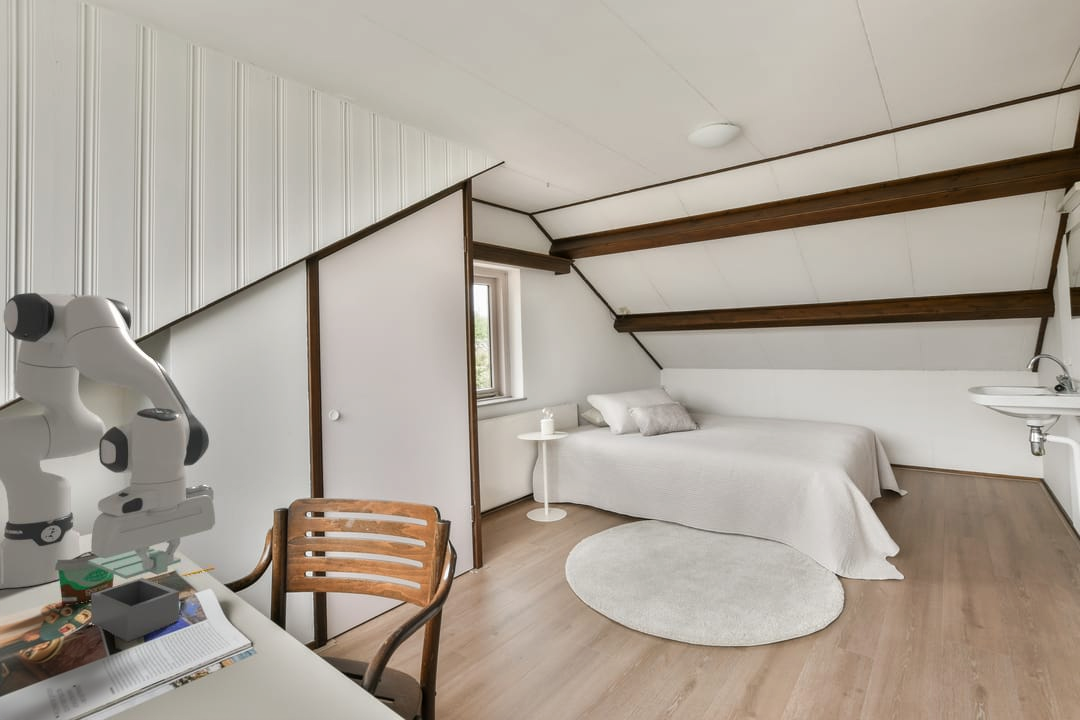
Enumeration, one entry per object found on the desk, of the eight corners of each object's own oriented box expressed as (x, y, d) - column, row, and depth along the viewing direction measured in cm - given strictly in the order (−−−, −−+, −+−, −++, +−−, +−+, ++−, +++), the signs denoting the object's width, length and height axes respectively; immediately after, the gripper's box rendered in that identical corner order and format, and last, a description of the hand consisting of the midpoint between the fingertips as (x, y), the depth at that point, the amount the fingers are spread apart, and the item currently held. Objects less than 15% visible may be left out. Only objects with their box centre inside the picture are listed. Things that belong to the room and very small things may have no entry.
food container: (78, 610, 113) (78, 562, 113) (54, 607, 114) (54, 560, 114) (133, 586, 125) (133, 543, 125) (111, 584, 126) (111, 541, 126)
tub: (91, 624, 107) (91, 593, 107) (142, 605, 115) (142, 577, 115) (127, 641, 101) (127, 609, 101) (179, 621, 108) (179, 591, 108)
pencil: (123, 592, 122) (124, 589, 122) (213, 569, 136) (213, 566, 136) (124, 593, 122) (124, 590, 122) (214, 570, 135) (214, 567, 135)
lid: (88, 563, 107) (88, 545, 107) (142, 548, 116) (142, 531, 116) (133, 582, 99) (133, 562, 99) (188, 564, 107) (188, 546, 107)
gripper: (204, 481, 114) (203, 546, 114) (87, 503, 96) (86, 581, 96) (222, 484, 111) (221, 551, 111) (104, 509, 93) (104, 588, 93)
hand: (158, 565), depth 104 cm, fingers closed on lid, 2 cm apart
